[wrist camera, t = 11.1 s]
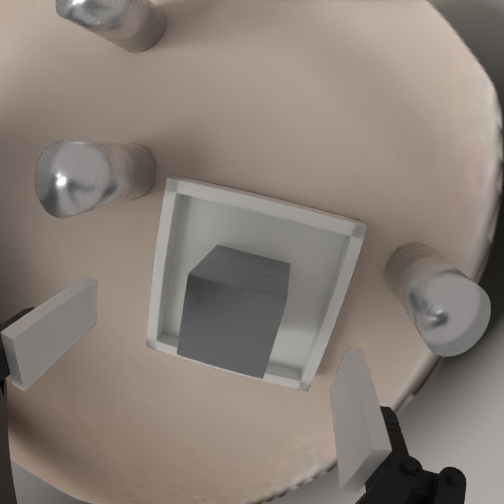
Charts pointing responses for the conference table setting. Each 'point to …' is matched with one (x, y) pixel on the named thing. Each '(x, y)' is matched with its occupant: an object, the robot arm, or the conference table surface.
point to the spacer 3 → (438, 299)
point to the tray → (263, 244)
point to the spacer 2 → (91, 175)
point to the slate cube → (233, 310)
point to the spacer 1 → (117, 20)
